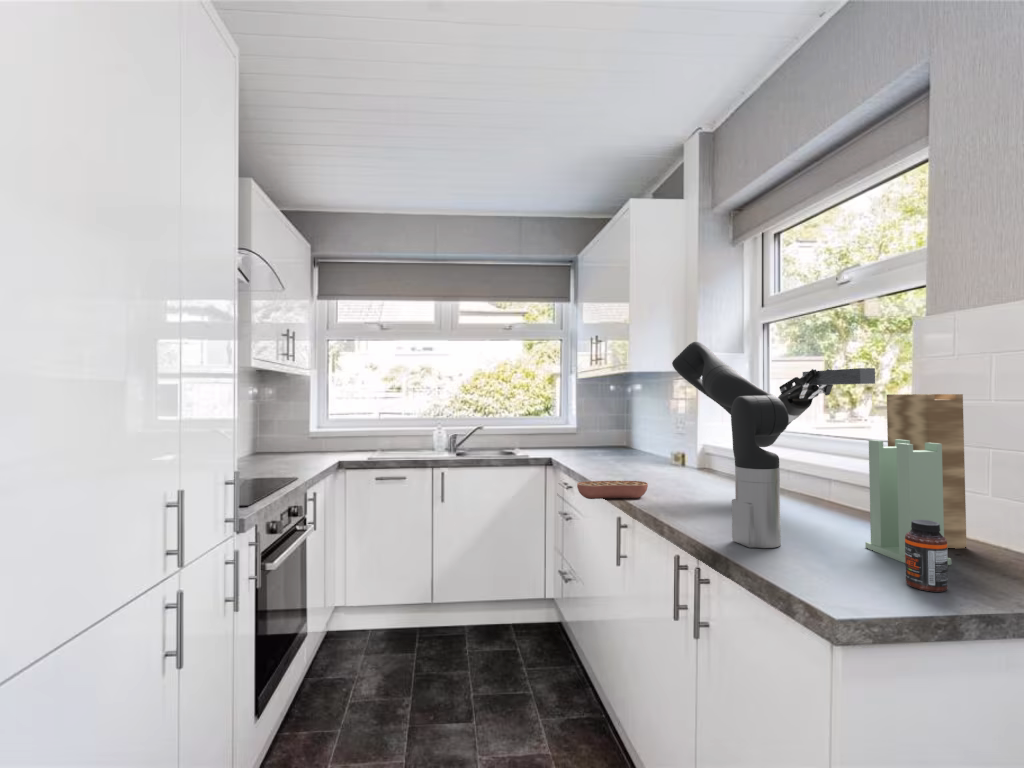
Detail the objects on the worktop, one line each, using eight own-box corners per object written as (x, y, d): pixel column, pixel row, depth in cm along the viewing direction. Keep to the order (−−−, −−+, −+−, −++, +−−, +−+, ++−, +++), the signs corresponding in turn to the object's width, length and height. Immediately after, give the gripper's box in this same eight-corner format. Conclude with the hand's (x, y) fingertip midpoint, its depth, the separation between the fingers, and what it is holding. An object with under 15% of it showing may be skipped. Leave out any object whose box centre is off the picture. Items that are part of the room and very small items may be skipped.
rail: (802, 385, 147) (802, 371, 147) (815, 385, 147) (815, 371, 148) (860, 383, 125) (860, 368, 125) (875, 383, 126) (874, 368, 126)
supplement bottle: (897, 582, 99) (895, 518, 99) (928, 580, 100) (926, 517, 100) (924, 594, 93) (923, 526, 94) (957, 592, 94) (956, 525, 94)
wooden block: (889, 535, 131) (886, 394, 132) (921, 534, 132) (918, 394, 132) (931, 549, 119) (927, 394, 120) (966, 548, 120) (962, 394, 120)
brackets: (865, 547, 121) (863, 439, 121) (900, 546, 121) (898, 439, 122) (912, 566, 108) (909, 445, 108) (951, 564, 109) (948, 444, 109)
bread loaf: (579, 501, 176) (579, 486, 176) (575, 496, 186) (575, 481, 186) (651, 500, 177) (651, 485, 177) (643, 495, 187) (642, 480, 187)
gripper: (762, 393, 158) (792, 359, 143) (810, 392, 159) (844, 359, 144) (770, 416, 154) (801, 384, 139) (819, 416, 155) (855, 384, 140)
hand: (823, 372), depth 141 cm, fingers closed on rail, 3 cm apart
